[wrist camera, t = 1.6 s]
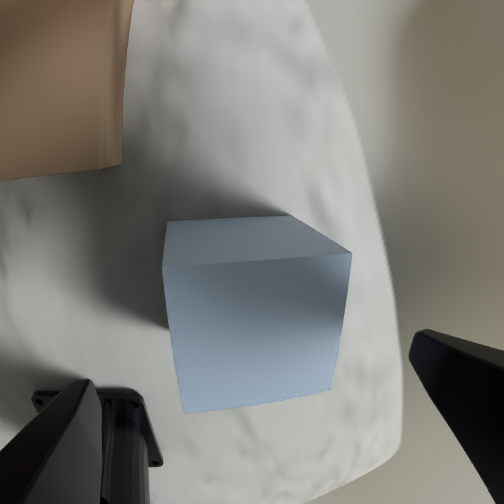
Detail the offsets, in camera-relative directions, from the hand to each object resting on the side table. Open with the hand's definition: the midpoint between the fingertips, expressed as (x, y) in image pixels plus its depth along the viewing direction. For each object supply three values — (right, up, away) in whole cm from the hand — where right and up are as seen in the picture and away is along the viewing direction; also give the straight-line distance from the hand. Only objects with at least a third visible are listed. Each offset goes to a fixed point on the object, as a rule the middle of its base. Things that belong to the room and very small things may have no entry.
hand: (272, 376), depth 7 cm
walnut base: (-10, +11, +1) cm, 15 cm away
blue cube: (-1, +2, +6) cm, 6 cm away
